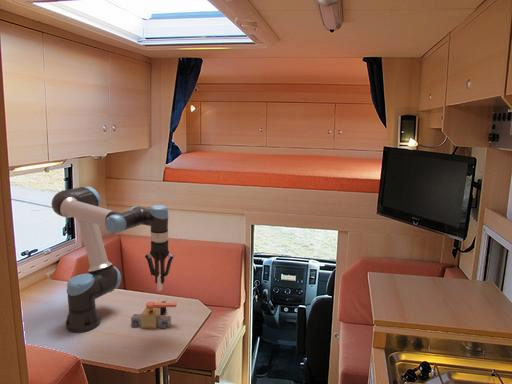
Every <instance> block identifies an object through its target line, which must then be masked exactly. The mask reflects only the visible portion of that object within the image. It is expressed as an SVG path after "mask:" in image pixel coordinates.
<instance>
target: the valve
mask: <svg viewBox="0 0 512 384" xmlns="http://www.w3.org/2000/svg"><path fill="white" fill-rule="evenodd" d="M130 321H131V322H130V325H131V327H132V328H139V327H141V329H150V330H151V329H152V330H156V329H157V328H160V329H161V330H167V329H169V328H170V326H171V324H172V316H171V315H165V314H164V315H161V314H160V308H151V309H148V308H146V307H145V308H144V310H143V311H142V312H141V313H139V314H138V313H133V315H132V316H131V317H130Z"/></svg>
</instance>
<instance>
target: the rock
mask: <svg viewBox="0 0 512 384" xmlns="http://www.w3.org/2000/svg"><path fill="white" fill-rule="evenodd" d="M156 303H159V302H156ZM160 303H167V302H166V300H163V301H160ZM154 308H160V314H161V315H164V316H165V314H166V312H167V307H154Z"/></svg>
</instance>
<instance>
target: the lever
mask: <svg viewBox="0 0 512 384" xmlns="http://www.w3.org/2000/svg"><path fill="white" fill-rule="evenodd" d="M145 306H146V307H145V308H148V309H151V308H154V307H166V308H176V307H177V306H178V305H177V302H166V303H161V302H158V303H157V302H155V301H147V302H146V303H145Z"/></svg>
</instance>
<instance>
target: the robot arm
mask: <svg viewBox="0 0 512 384" xmlns="http://www.w3.org/2000/svg"><path fill="white" fill-rule="evenodd" d="M100 204H101V197H100V194H99V193H98V191H97V190H96V189H94V188H93V187H92V186H79V187H75V188H70V189H65V190H61V191H59V192H57V193H55V195H54V196H53V197H52V200H51V208H52V210H53V212H54V213H55V214H56V215H58V216H60V217H64V218H66V219H67V218H69V219H70V218H74V219H76V220H77V224H78V225H79V229H80V234H81V237H82V241H83V244H84V248H85V252H86V256H87V259H88V263H89V268H88V270H87V272H88V273H82V274H78V275H75V276H72V277H71V278H70V279H69V280H68V281H67V284H66V288H67V289H66V293H67V304H68V306H67V307H68V313H67V317H66V321H65V329H66V330H67V331H68V332H71V333H85V332H89V331H92V330H94V329H95V328H97V327H99V326H100V324H101V316H100V314H99V311H98V310H97V307H96V300H97V299H98V298H100V297H101V298H102V296H105V295H107V294H108V293H112V292H113V291H114V290H116V289H118V288H119V287H120V284H121V282H122V275H121V272H120V270H119V269H118V268H117V267H116V266H113V265H114V264H113V262H110V261H109V260H108V255H107V252H106V248H105V245H104V240H103V235H102V234H101V230H100V226H101V227H105V229H106V230H107V231H108V232H109V233H110V234H117V233H122V232H124V231H127V230H130V229H133V228H136V227H138V226H139V227H140V226H147V227H148V226H149V227H150V251H149V252H148V253H146V254H145V255H144V257H145V260H146V261H147V264H148V268H149V271H150V275H151V276H154V277H155V279H154V282H155V284H156V285H157V291H158V292H162V290H163V285H164V284H165V277H167V276H168V275H169V274H170V269H171V265H172V263H173V259H174V257H175V255H174V254H171V253H170V250H169V209H168V207H167V206H166V205H160V204H157V205H153V206H151V207H150V208H147V207H142V206H140V205H139V206H138V205H137V206H136V205H135V206H131V207H130V208H129V209H128V210H127V211H123V212H119V211H116V210H112V209H111V210H110V209H108V208H104V207H100ZM166 259H168V260H167V262H166ZM165 263H167V264H166V265H165Z"/></svg>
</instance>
